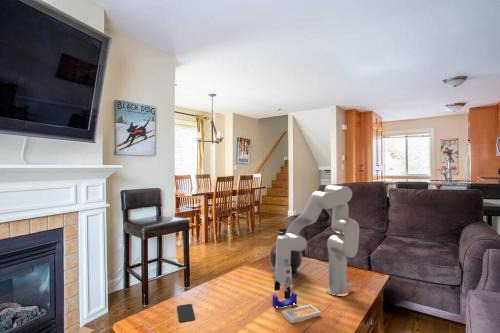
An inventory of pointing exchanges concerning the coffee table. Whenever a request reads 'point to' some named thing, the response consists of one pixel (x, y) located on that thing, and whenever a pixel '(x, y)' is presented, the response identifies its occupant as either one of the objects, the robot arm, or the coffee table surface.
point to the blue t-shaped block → (285, 302)
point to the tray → (296, 317)
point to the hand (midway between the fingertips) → (282, 294)
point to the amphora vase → (295, 256)
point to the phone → (185, 313)
